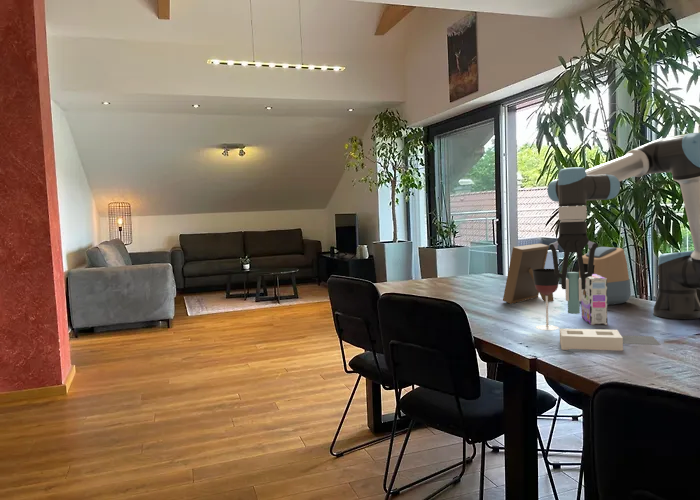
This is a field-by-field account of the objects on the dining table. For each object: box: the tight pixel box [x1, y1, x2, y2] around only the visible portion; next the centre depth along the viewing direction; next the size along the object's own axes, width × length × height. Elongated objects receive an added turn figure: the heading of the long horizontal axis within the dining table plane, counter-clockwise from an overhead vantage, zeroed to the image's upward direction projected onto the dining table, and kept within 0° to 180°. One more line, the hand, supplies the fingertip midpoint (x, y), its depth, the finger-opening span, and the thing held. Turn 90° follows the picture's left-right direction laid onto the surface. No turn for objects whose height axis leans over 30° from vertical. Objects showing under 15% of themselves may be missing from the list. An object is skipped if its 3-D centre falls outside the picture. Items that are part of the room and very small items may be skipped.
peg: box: [566, 271, 581, 315], centre depth 154 cm, size 3×3×12 cm
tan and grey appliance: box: [578, 246, 632, 306], centre depth 221 cm, size 17×17×23 cm
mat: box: [621, 335, 661, 346], centre depth 157 cm, size 10×10×1 cm
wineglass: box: [533, 268, 561, 331], centre depth 180 cm, size 8×9×20 cm
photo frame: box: [502, 243, 554, 305], centre depth 231 cm, size 15×22×25 cm
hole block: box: [559, 328, 624, 351], centre depth 154 cm, size 16×10×4 cm, turn 71°
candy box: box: [580, 274, 609, 326], centre depth 186 cm, size 14×6×16 cm, turn 168°
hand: (573, 300), depth 155 cm, fingers closed on peg, 3 cm apart
